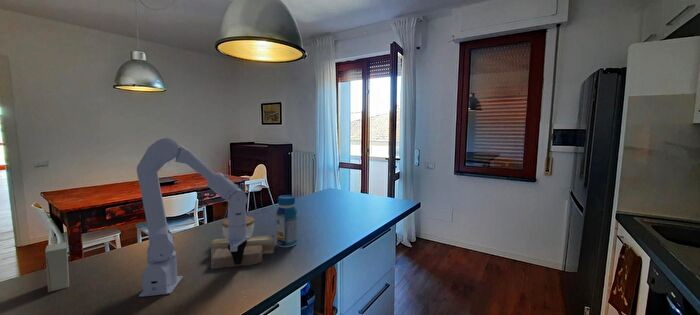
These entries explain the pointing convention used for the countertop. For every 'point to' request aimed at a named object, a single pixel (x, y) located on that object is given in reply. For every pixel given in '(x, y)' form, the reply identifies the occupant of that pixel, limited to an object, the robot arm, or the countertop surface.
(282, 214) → the beverage bottle
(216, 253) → the brick
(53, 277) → the skincare box
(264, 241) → the batten
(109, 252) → the countertop surface
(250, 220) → the white round tub
